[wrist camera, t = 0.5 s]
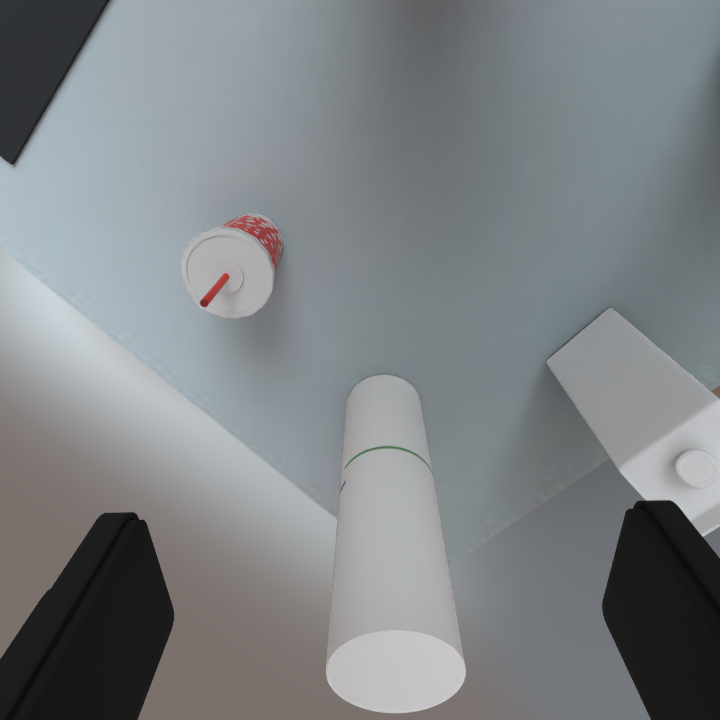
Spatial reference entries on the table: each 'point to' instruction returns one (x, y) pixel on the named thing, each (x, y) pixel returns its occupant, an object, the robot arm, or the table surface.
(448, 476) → the table surface
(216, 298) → the beverage cup
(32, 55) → the mat
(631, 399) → the milk carton
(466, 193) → the table surface
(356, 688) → the cylindrical container
